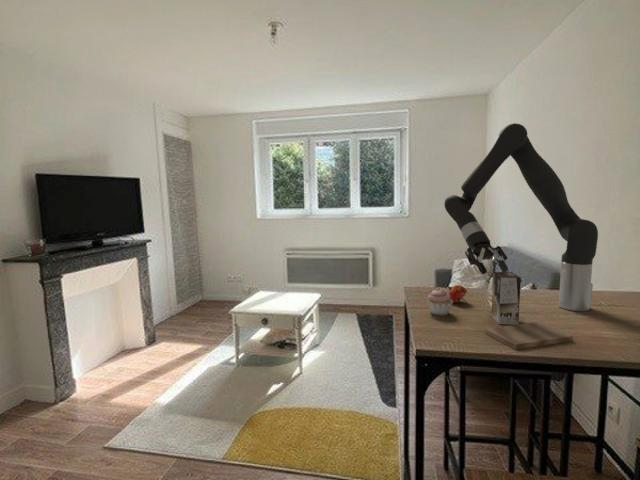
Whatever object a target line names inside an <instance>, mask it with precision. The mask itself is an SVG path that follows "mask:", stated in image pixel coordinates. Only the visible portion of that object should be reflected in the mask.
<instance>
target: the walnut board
mask: <svg viewBox="0 0 640 480" xmlns="http://www.w3.org/2000/svg"><path fill="white" fill-rule="evenodd" d="M485 334H486V335H487V336H489V337H491V338H493V339H495V340H496V341H498V342H500V343H502V344H504V345H506V346H508V347H510V348H512V349H513V350H515V351H516V350H522V349H523V350H524V349H528V348H534V347H542V346H548V345H554V344H561V343H567V342H573V341H574V335H571V334H570V333H566V332H564V331H561V330H559V329H558V328H555V327H552V326H550V325H548V324H545V323H542V322H540V321H537V322H527V323H520V324H518V325H505V326H498V327H491V328H490V327H489V328H485Z"/></svg>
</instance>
